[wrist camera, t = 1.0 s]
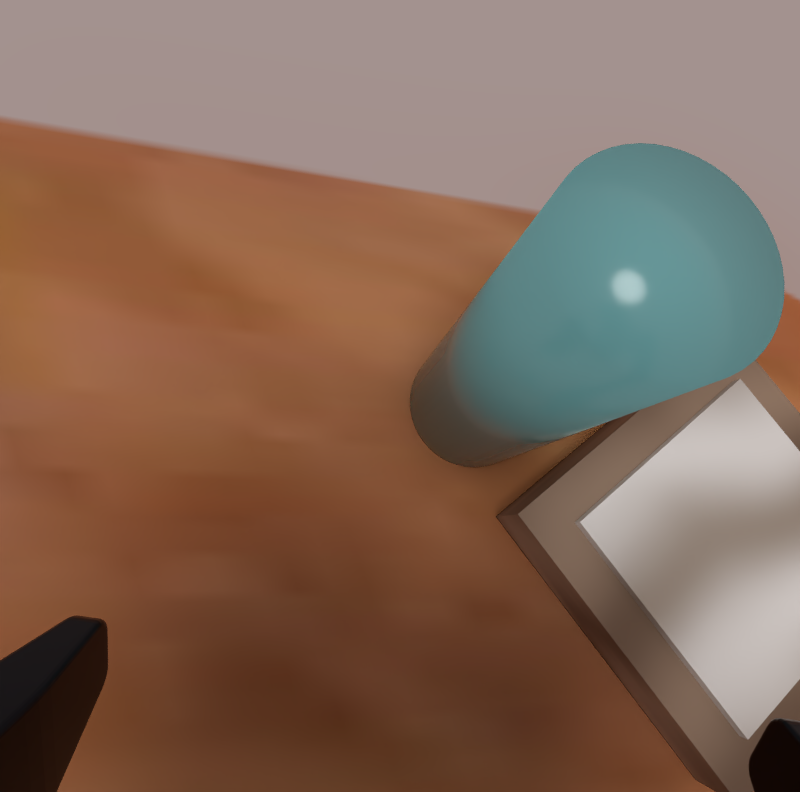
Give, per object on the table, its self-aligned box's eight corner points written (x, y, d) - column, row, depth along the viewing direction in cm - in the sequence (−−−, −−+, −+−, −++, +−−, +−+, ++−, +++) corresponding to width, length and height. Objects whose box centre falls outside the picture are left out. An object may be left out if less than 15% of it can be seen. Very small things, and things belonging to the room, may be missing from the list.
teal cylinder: (553, 418, 24) (830, 293, 12) (462, 493, 23) (666, 439, 10) (479, 323, 25) (670, 103, 12) (384, 390, 23) (491, 220, 11)
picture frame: (875, 570, 25) (942, 574, 23) (695, 779, 22) (749, 811, 19) (694, 348, 26) (739, 328, 24) (496, 516, 23) (522, 513, 20)
